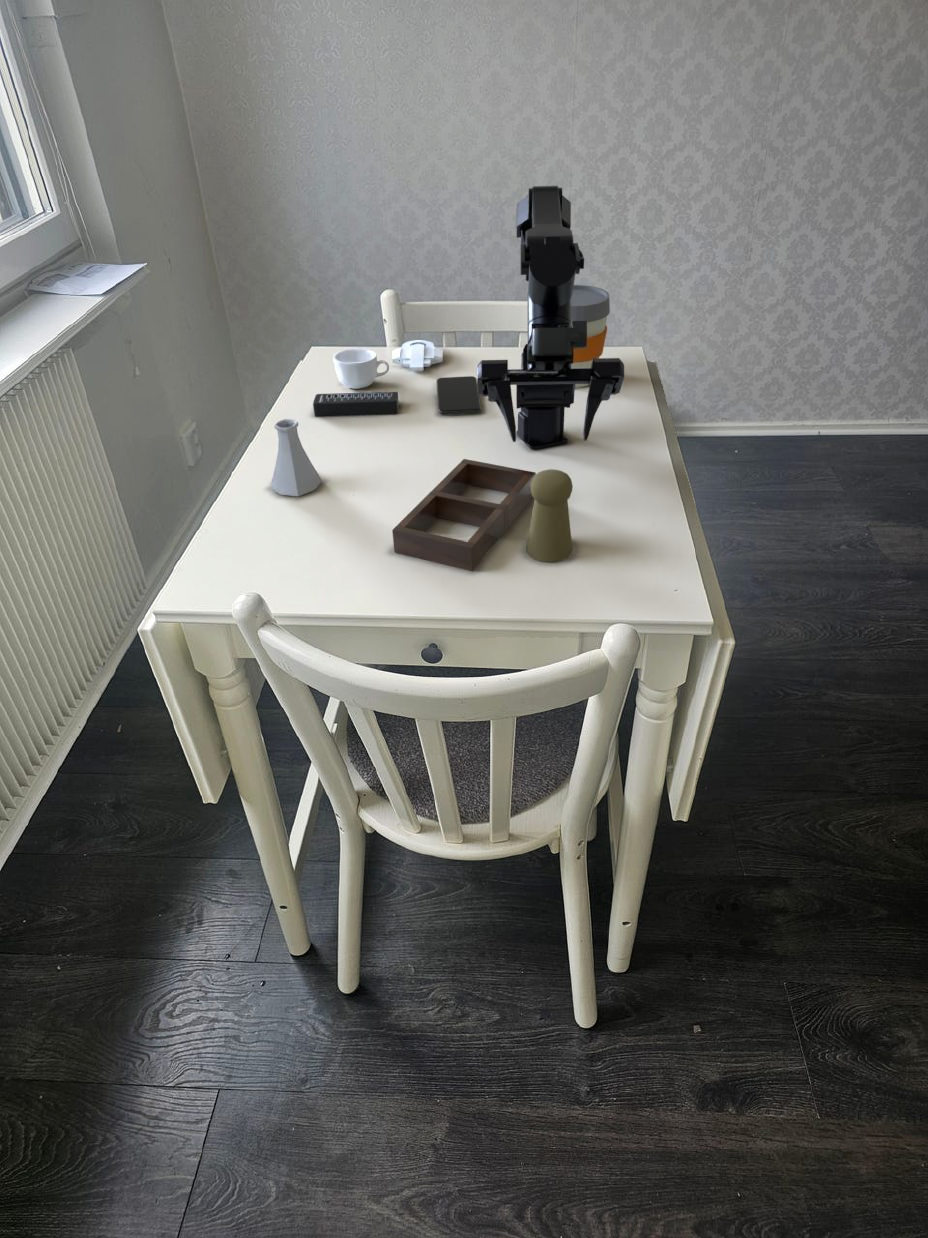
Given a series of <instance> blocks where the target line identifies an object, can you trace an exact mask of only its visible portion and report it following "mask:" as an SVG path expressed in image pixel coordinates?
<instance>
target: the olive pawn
mask: <svg viewBox="0 0 928 1238" xmlns="http://www.w3.org/2000/svg"><path fill="white" fill-rule="evenodd" d="M573 487H574V486H573V482H572V478H571V477H570V475H569V474H568V473H567V472H564V471H563V470H559V469H551V468H549V469H544V470H541V471H539V472H537V473H536V475H535V476H534V477H533V479H532V482H531V493H532V496H533V497H532V499H533V500H534V501H533V507H532V511H531V512H532V513H531V519H530V524H529V529H528V530H529V531H528V534H527V535H528V536H527V543H526V548H525V551H526V554H527V555H528V556H529V558H531V559H533V560H534V561H537V562H541V563H549V564H551V563H558V562H563V561H565V560H566V559H569V558H570V557H571V556H572V553H573V540H572V532H571V531H572V530H571V522H570V521H571V520H570V513H569V512H570V511H569V502H568V500H570V498H571V496H572V493H573Z"/></svg>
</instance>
